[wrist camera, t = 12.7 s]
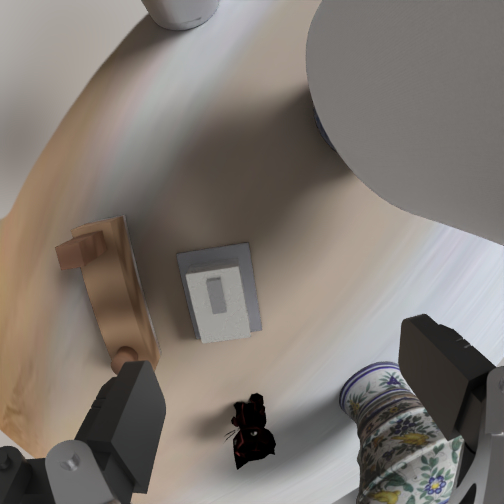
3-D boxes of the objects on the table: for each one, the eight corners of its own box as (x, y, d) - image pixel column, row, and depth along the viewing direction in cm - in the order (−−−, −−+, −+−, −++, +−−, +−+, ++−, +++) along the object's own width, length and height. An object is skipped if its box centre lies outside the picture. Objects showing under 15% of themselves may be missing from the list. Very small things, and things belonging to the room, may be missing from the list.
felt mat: (177, 253, 39) (176, 254, 38) (248, 242, 39) (248, 243, 38) (196, 336, 42) (196, 339, 41) (261, 327, 42) (262, 330, 42)
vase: (309, 379, 45) (364, 556, 16) (409, 330, 44) (526, 464, 15) (337, 437, 49) (382, 574, 20) (421, 396, 48) (498, 512, 19)
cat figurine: (257, 382, 45) (263, 440, 33) (282, 407, 46) (292, 463, 35) (220, 402, 45) (217, 459, 34) (245, 425, 47) (248, 481, 35)
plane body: (88, 222, 37) (44, 241, 27) (125, 214, 37) (87, 232, 27) (127, 355, 43) (103, 401, 32) (161, 352, 43) (143, 401, 32)
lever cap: (190, 264, 39) (184, 276, 34) (238, 256, 39) (238, 268, 34) (205, 328, 41) (201, 346, 37) (249, 321, 41) (251, 339, 37)
